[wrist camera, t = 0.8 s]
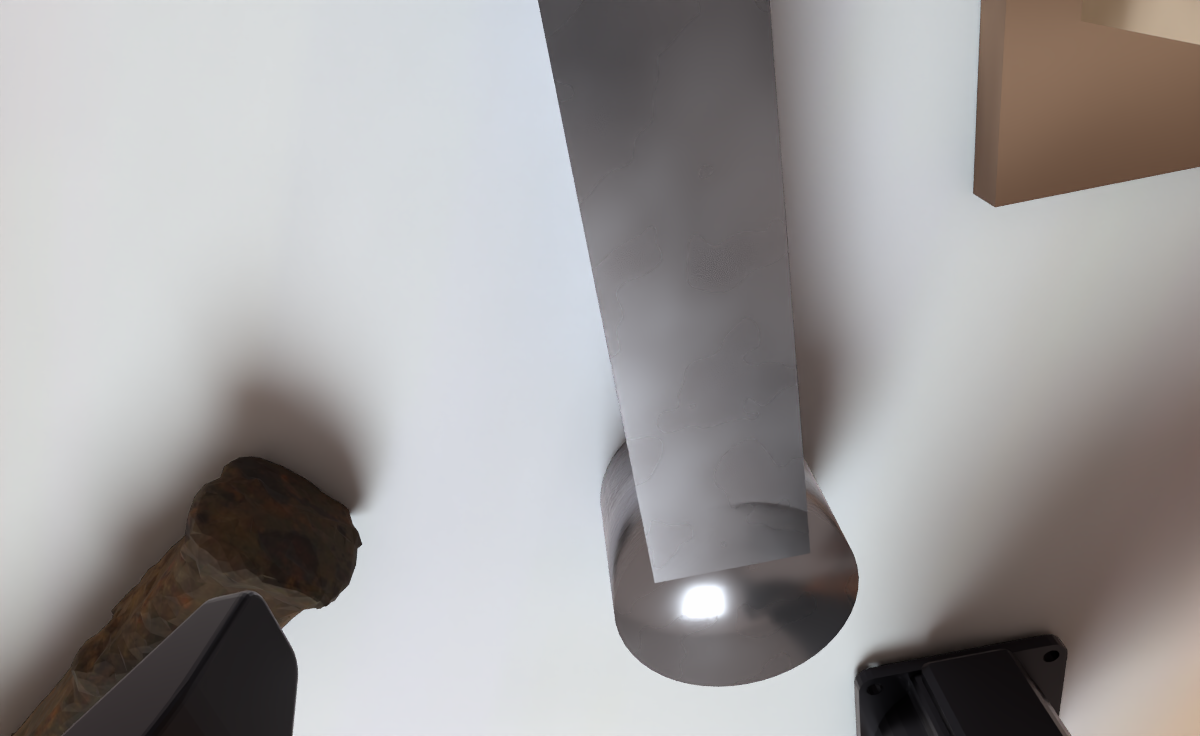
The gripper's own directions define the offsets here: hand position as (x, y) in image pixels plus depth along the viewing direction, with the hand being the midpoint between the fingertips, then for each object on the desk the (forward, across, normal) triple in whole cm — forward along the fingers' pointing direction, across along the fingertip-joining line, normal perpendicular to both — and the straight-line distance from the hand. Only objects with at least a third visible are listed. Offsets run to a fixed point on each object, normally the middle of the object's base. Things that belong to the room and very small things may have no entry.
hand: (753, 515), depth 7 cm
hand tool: (+12, +17, +12) cm, 24 cm away
